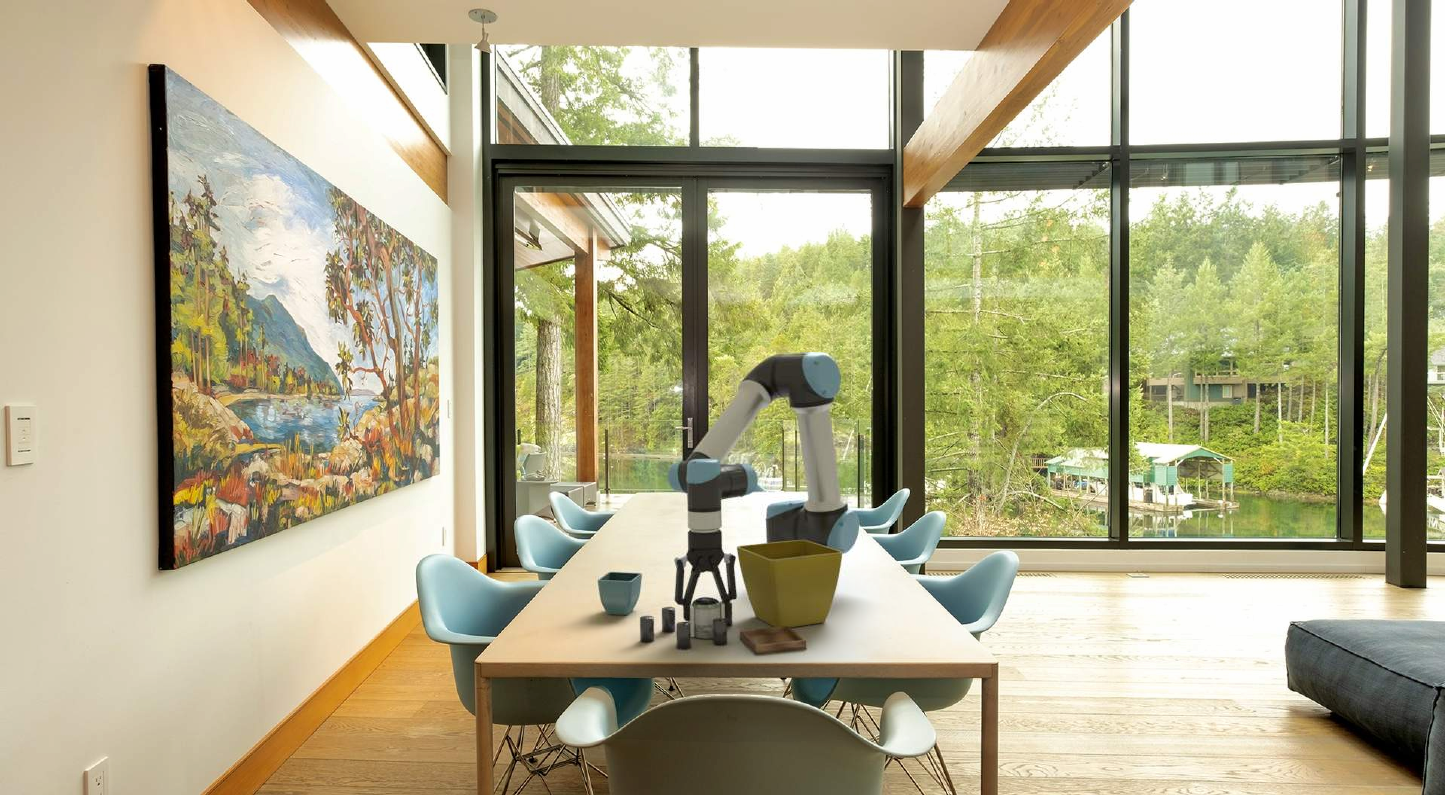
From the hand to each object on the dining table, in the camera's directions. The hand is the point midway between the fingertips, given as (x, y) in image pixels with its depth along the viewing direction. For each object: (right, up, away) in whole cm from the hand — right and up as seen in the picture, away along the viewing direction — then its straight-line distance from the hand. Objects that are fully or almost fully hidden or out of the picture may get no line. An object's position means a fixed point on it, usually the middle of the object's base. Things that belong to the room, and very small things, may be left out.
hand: (706, 633), depth 174 cm
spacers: (-3, -1, -1) cm, 3 cm away
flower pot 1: (-21, -1, +20) cm, 29 cm away
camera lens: (0, -1, 0) cm, 1 cm away
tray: (+14, 0, -6) cm, 16 cm away
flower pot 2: (+19, -1, +12) cm, 23 cm away
